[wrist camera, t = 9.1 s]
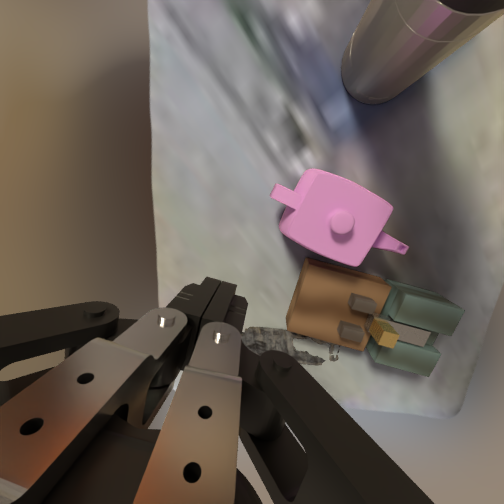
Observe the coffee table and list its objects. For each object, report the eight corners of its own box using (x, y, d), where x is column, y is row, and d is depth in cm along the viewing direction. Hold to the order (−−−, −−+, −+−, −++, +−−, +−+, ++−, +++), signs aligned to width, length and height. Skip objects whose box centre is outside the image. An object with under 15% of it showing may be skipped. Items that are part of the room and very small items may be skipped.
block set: (305, 257, 38) (311, 268, 33) (435, 292, 38) (465, 310, 32) (285, 317, 41) (288, 338, 35) (406, 350, 41) (428, 377, 35)
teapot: (399, 208, 36) (447, 215, 26) (361, 270, 38) (392, 297, 28) (287, 155, 35) (294, 142, 25) (257, 222, 38) (252, 233, 28)
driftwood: (224, 352, 45) (221, 360, 43) (225, 319, 43) (223, 326, 41) (338, 364, 44) (341, 373, 42) (344, 331, 42) (348, 338, 40)
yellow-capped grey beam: (370, 311, 35) (384, 329, 31) (424, 326, 35) (447, 346, 30) (363, 325, 36) (377, 345, 31) (417, 340, 36) (438, 362, 31)
